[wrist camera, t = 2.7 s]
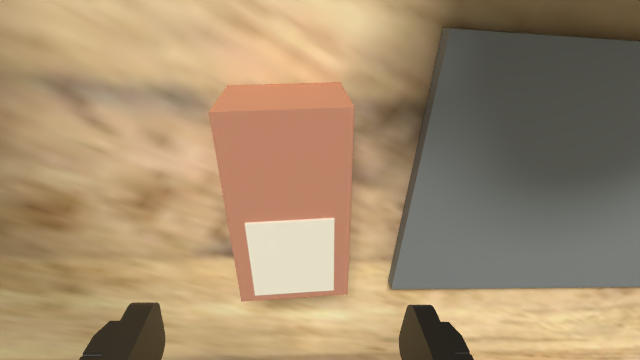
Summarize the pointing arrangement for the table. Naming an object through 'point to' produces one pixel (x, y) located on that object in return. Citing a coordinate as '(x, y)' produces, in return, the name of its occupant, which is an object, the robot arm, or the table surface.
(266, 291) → the card box
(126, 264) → the table surface
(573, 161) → the slate mat
